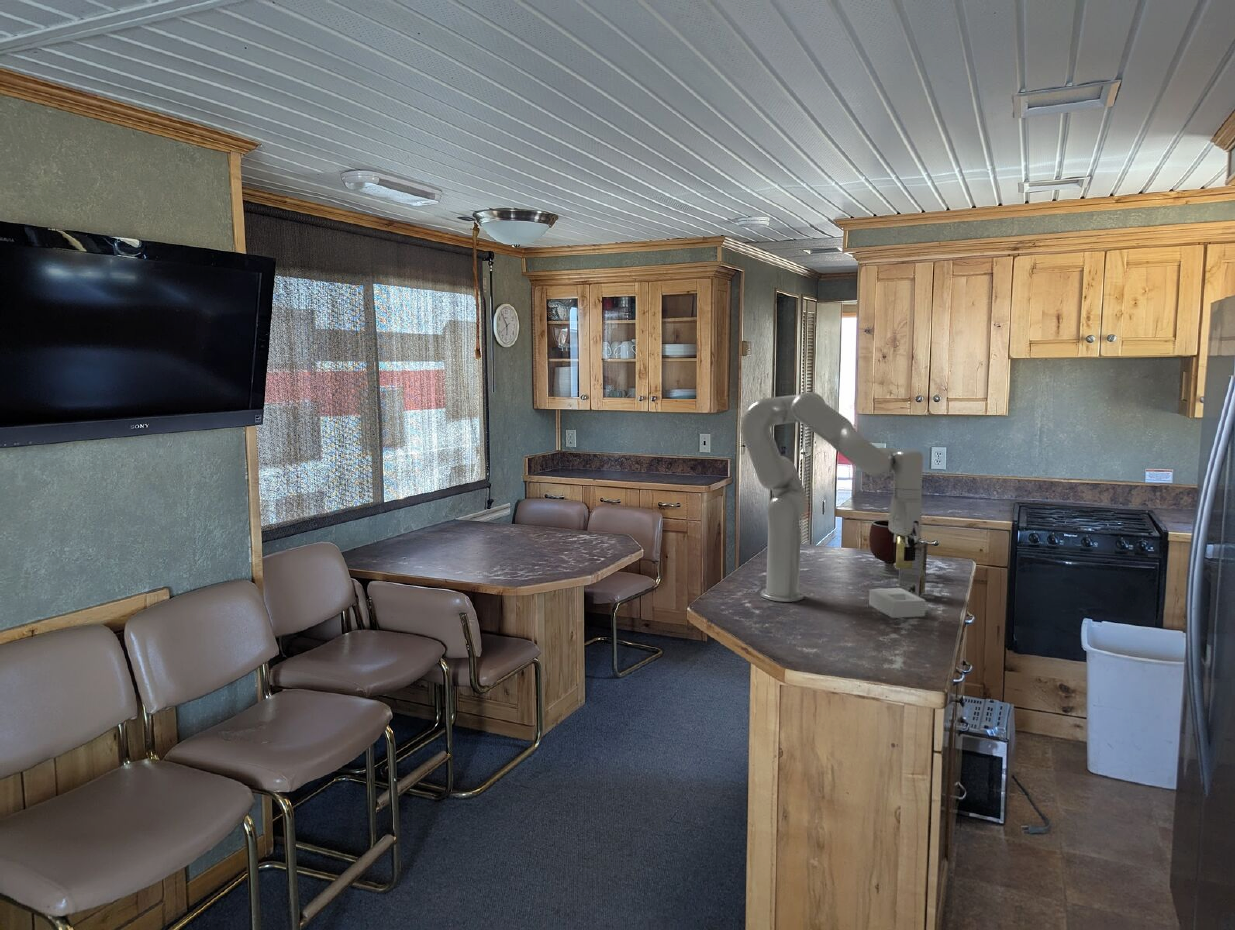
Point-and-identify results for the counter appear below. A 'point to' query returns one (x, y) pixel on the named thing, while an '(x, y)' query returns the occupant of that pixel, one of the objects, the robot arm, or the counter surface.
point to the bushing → (902, 554)
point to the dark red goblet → (883, 549)
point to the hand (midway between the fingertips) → (904, 557)
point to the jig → (897, 602)
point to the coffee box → (915, 572)
